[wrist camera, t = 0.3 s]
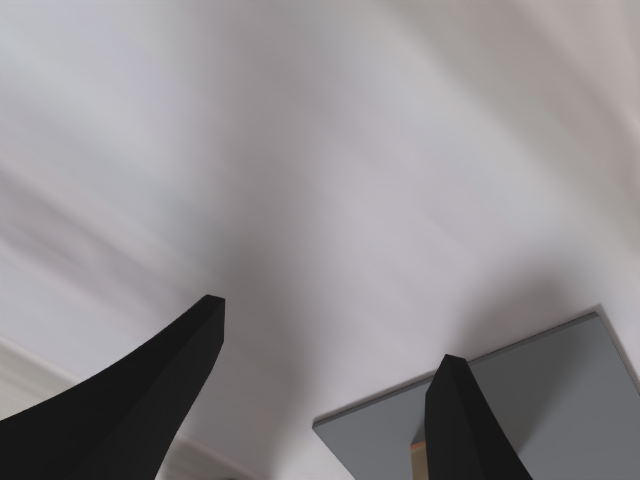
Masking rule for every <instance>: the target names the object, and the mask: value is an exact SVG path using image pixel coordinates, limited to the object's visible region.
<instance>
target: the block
mask: <svg viewBox="0 0 640 480" xmlns="http://www.w3.org/2000/svg"><path fill="white" fill-rule="evenodd" d="M410 451H411V462H412V473H413V480H429V479H428V467H427V455H426V443H425V441H422V442H419V443H416V444H413V445H410Z"/></svg>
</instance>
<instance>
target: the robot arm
mask: <svg viewBox="0 0 640 480" xmlns="http://www.w3.org/2000/svg"><path fill="white" fill-rule="evenodd" d="M224 319H225V299H224V298H220V297H216V296H212V295H208V294H207V295H205V296H204V297H202V298H201V299H200V300H199V301H198V302H197V303H195V304H194V305H193V306H192V307H191V308H189V309H188V310H187V311H186V312H185V313H183V314H182V315H181V316H180V317H178V318H177V319H176V320H175V321H173V322H172V323H171V324H170V325H168V326H167V327H166V328H164V329H163V330H162V331H160V332H159V333H158V334H157V335H155V336H154V337H152V338H151V339H150V340H148V341H147V342H145V343H144V344H143V345H141V346H140V347H138V348H137V349H135V350H134V351H132V352H131V353H130V354H128V355H127V356H125V357H123V358H122V359H120V360H119V361H117V362H116V363H114V364H112V365H111V366H109V367H108V368H106V369H104V370H102V371H101V372H99V373H97V374H96V375H94V376H92V377H90V378H89V379H87V380H85V381H83V382H81V383H79V384H77V385H76V386H74V387H72V388H70V389H68V390H66V391H64V392H62V393H60V394H58V395H56V396H54V397H52V398H50V399H48V400H46V401H44V402H41V403H39V404H37V405H35V406H33V407H31V408H28V409H26V410H24V411H22V412H20V413H17V414H15V415H13V416H10V417H8V418H6V419H3V420H1V421H0V480H155V477H156V475H157V473H158V471H159V468H160V466H161V464H162V462H163V460H164V457H165V455H166V453H167V451H168V449H169V446H170V444H171V443H172V441H173V439H174V437H175V435H176V433H177V431H178V429H179V427H180V426H181V424H182V422H183V420H184V419H185V417H186V415H187V413H188V412H189V410H190V408H191V406H192V405H193V403H194V401H195V399H196V398H197V396H198V394H199V392H200V390H201V389H202V387H203V385H204V383H205V382H206V380H207V378H208V376H209V374H210V373H211V371H212V368H213V366H214V364H215V362H216V359H217V357H218V354H219V352H220V350H221V347H222V345H223V342H224ZM424 430H425V443H426V455H427V467H428V479H429V480H533V478H532V477H531V475H530V474H529V472H528V471H527V469H526V468H525V466H524V465H523V463H522V462H521V460H520V458H519V457H518V455H517V454H516V452H515V450H514V449H513V447H512V445H511V444H510V442H509V440H508V439H507V437H506V435H505V434H504V432H503V430H502V428H501V426H500V425H499V423H498V421H497V419H496V417H495V416H494V414H493V412H492V410H491V408H490V406H489V405H488V403H487V401H486V399H485V397H484V395H483V393H482V391H481V389H480V387H479V385H478V383H477V381H476V379H475V377H474V375H473V373H472V371H471V369H470V367H469V365H468V363H467V361H466V360H465V359H464V358H460V357H456V356H452V355H448V354H445V356H444V358H443V360H442V362H441V364H440V366H439V368H438V370H437V372H436V374H435V376H434V378H433V380H432V382H431V384H430V386H429V388H428V390H427V392H426V394H425V417H424Z"/></svg>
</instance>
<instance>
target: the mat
mask: <svg viewBox="0 0 640 480" xmlns="http://www.w3.org/2000/svg"><path fill="white" fill-rule="evenodd" d="M468 365H469V367H470V369H471V371H472V373H473V375H474V377H475V379H476V381H477V383H478V385H479V387H480V389H481V391H482V393H483V395H484V397H485V399H486V401H487V403H488V405H489V406H490V408H491V410H492V412H493V414H494V416H495V417H496V419H497V421H498V423H499V425H500V426H501V428H502V430H503V432H504V434H505V435H506V437H507V439H508V440H509V442H510V444H511V445H512V447H513V449H514V450H515V452H516V454H517V455H518V457H519V458H520V460H521V462H522V463H523V465H524V466H525V468H526V469H527V471H528V472H529V474H530V475H531V477H532V478H533V480H640V395H639V393H638V391H637V389H636V387H635V385H634V383H633V381H632V379H631V377H630V375H629V373H628V371H627V369H626V367H625V365H624V363H623V361H622V359H621V357H620V356H619V354H618V352H617V350H616V348H615V346H614V344H613V342H612V340H611V338H610V336H609V334H608V332H607V330H606V328H605V326H604V324H603V322H602V320H601V318H600V316H599V315H598V314H597V313H596V312H594V313H591V314H589V315H586V316H584V317H581V318H579V319H576V320H574V321H571V322H569V323H566V324H564V325H561V326H559V327H556V328H554V329H551V330H549V331H546V332H544V333H541V334H539V335H536V336H534V337H531V338H528V339H526V340H523V341H521V342H518V343H516V344H513V345H511V346H508V347H506V348H503V349H501V350H498V351H496V352H493V353H491V354H488V355H486V356H483V357H481V358H478V359H476V360H473V361H471V362H468ZM433 378H434V376H433V377H430V378H428V379H425V380H423V381H420V382H418V383H415V384H413V385H410V386H408V387H405V388H403V389H400V390H397V391H395V392H392V393H390V394H387V395H385V396H382V397H380V398H377V399H375V400H372V401H370V402H367V403H365V404H362V405H360V406H357V407H355V408H352V409H350V410H347V411H345V412H342V413H340V414H337V415H335V416H332V417H329V418H327V419H324V420H322V421H319V422H317V423H314V424H313V425H312V429H313V431H314V432H315V433H316V434H317V435H318V436H319V438H320V439H321V440H322V441H323V442H324V443H325V445H326V446H327V447H328V448H329V449H330V450H331V451H332V453H333V454H334V455H335V456H336V457H337V458H338V460H339V461H340V462H341V463H342V464H343V465H344V467H345V468H346V469H347V470H348V471H349V472H350V474H351V475H352V476H353V477H354V478H355V479H356V480H413V473H412V462H411V451H410V445H413V444H416V443H419V442H422V441H425V430H424V417H425V394H426V392H427V390H428V388H429V386H430V384H431V382H432V380H433Z"/></svg>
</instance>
